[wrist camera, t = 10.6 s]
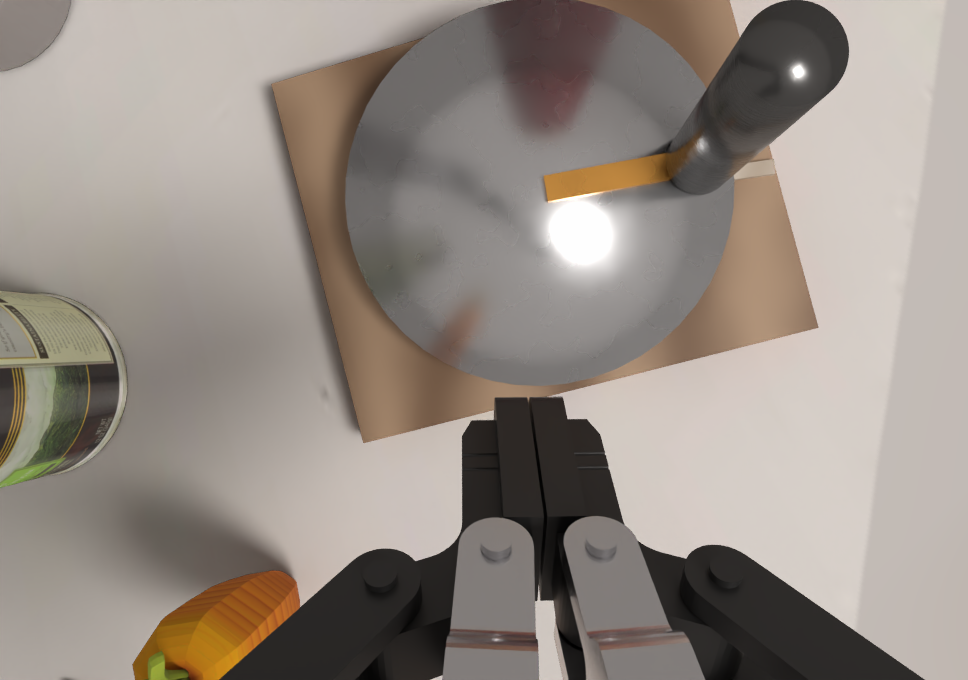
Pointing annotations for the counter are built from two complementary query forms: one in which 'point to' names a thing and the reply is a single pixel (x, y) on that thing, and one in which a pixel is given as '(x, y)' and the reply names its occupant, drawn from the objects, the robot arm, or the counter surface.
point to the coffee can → (55, 385)
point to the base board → (455, 394)
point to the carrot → (217, 628)
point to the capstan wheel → (565, 179)
